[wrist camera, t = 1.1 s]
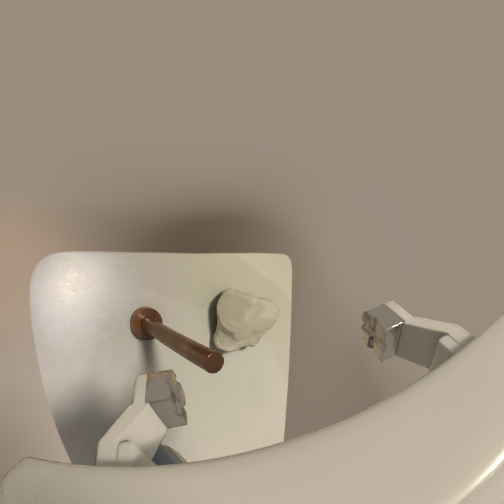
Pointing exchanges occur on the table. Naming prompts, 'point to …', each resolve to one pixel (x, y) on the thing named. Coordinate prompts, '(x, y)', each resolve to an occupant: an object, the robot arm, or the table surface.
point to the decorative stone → (242, 319)
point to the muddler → (174, 340)
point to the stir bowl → (167, 456)
